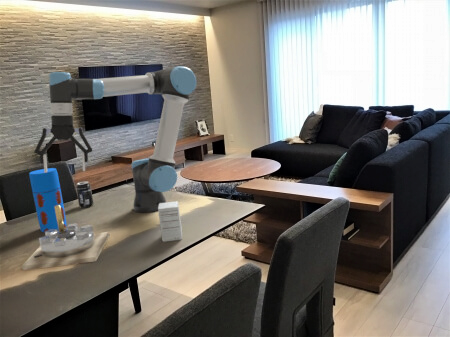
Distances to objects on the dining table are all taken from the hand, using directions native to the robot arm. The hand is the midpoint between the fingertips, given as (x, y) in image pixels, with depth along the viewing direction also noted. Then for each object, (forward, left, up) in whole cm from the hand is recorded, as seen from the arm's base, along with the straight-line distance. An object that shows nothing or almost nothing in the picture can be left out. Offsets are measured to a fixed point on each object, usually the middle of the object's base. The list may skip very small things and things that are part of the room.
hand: (65, 171), depth 159 cm
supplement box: (-38, +12, -27) cm, 48 cm away
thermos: (+14, -16, -27) cm, 35 cm away
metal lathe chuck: (-1, +14, -25) cm, 28 cm away
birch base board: (-1, +14, -27) cm, 30 cm away
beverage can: (+7, -45, -27) cm, 53 cm away
